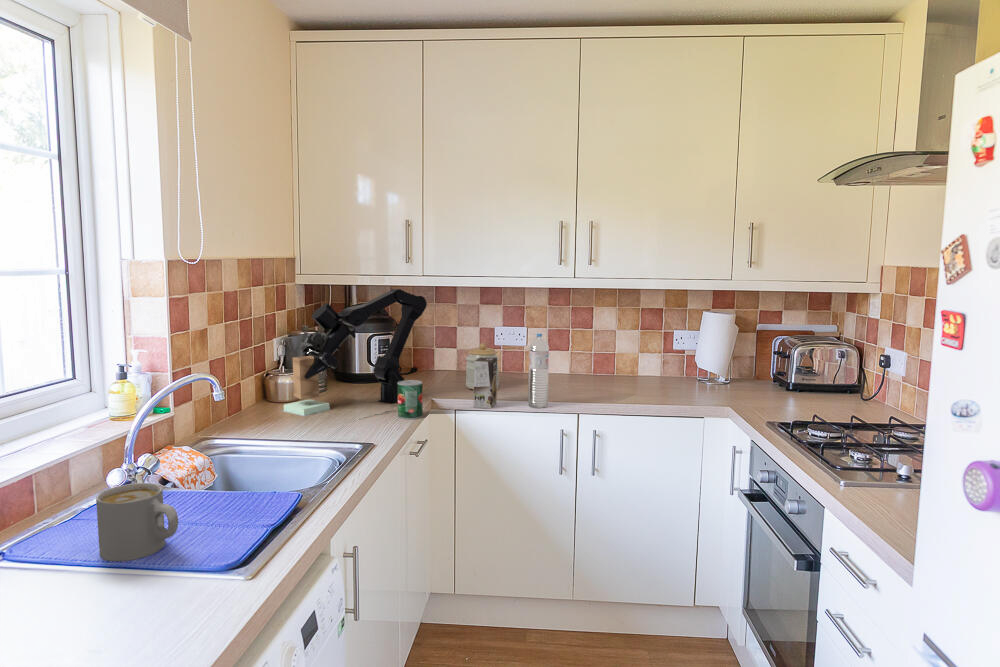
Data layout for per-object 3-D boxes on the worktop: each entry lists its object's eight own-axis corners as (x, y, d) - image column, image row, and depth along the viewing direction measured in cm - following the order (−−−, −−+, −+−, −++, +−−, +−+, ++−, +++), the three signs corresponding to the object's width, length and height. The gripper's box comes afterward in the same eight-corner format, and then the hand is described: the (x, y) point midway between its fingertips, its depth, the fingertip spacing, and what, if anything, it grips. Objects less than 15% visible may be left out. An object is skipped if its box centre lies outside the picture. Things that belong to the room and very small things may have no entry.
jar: (467, 384, 261) (467, 340, 259) (499, 385, 260) (500, 341, 258) (464, 391, 248) (464, 345, 246) (498, 391, 248) (499, 345, 245)
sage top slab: (329, 409, 211) (329, 403, 211) (304, 415, 203) (304, 409, 202) (309, 405, 217) (309, 399, 216) (283, 410, 208) (283, 404, 208)
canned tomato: (427, 416, 208) (427, 382, 207) (406, 420, 203) (406, 385, 202) (413, 412, 214) (413, 379, 213) (392, 415, 209) (392, 381, 208)
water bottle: (541, 409, 220) (543, 335, 217) (524, 406, 224) (525, 334, 221) (551, 405, 226) (552, 333, 223) (534, 402, 230) (535, 332, 227)
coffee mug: (85, 555, 111) (81, 498, 110) (136, 532, 120) (133, 479, 119) (145, 569, 106) (142, 510, 105) (193, 544, 116) (190, 489, 115)
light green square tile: (331, 415, 211) (331, 409, 211) (303, 422, 202) (303, 416, 202) (309, 410, 217) (309, 404, 217) (281, 417, 208) (281, 410, 208)
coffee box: (491, 408, 220) (492, 361, 218) (473, 407, 221) (473, 360, 220) (497, 402, 229) (497, 357, 227) (479, 401, 230) (479, 356, 228)
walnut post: (312, 393, 213) (310, 355, 212) (319, 397, 209) (318, 358, 207) (293, 396, 210) (292, 357, 208) (300, 399, 205) (299, 360, 203)
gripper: (305, 320, 216) (273, 356, 211) (328, 325, 201) (294, 364, 196) (328, 342, 222) (297, 377, 216) (352, 348, 207) (320, 387, 202)
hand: (301, 376), depth 207 cm, fingers closed on walnut post, 6 cm apart
